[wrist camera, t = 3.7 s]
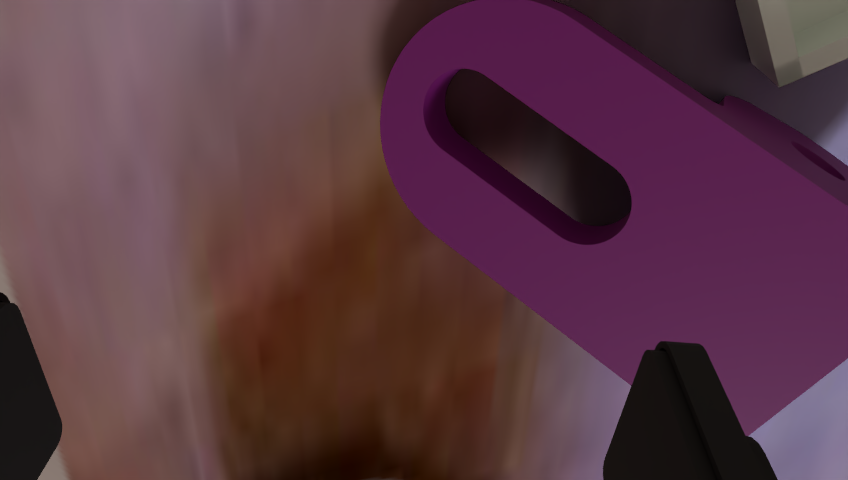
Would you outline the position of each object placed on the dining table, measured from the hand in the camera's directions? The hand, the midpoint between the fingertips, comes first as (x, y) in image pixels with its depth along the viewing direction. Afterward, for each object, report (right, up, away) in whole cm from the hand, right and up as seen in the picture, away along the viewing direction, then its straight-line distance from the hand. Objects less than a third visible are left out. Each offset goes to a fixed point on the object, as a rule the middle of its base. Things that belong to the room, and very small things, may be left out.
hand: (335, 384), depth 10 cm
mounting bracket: (+9, +6, +18) cm, 21 cm away
